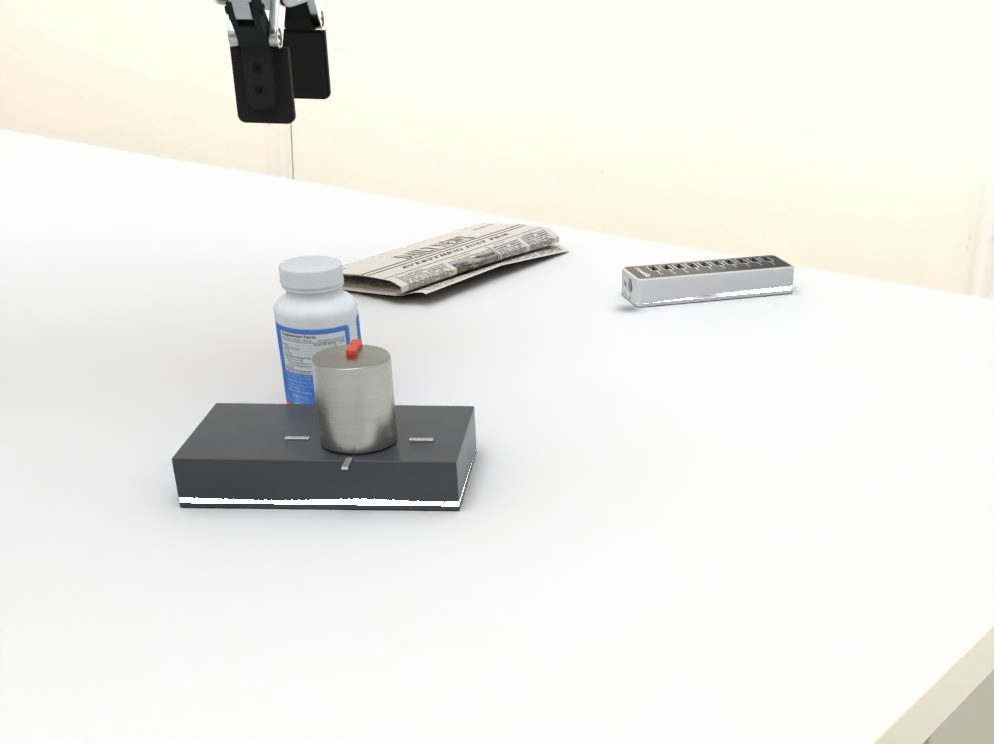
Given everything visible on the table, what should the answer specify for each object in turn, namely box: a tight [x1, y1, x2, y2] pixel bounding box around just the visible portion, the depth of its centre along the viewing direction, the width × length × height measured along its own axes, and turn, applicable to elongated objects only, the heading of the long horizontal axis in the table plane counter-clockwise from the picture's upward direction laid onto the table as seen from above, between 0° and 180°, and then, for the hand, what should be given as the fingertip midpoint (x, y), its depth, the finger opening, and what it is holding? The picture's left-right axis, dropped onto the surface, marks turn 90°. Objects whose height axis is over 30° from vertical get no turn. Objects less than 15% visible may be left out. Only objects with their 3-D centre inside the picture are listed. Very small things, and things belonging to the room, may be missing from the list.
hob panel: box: [171, 402, 478, 511], centre depth 79 cm, size 16×10×3 cm, turn 90°
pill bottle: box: [273, 254, 362, 404], centre depth 88 cm, size 6×5×10 cm
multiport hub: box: [621, 254, 795, 308], centre depth 115 cm, size 4×14×2 cm, turn 110°
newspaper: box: [341, 222, 570, 297], centre depth 121 cm, size 23×12×2 cm, turn 146°
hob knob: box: [311, 338, 398, 454], centre depth 76 cm, size 4×4×5 cm
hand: (287, 109), depth 81 cm, fingers open, 9 cm apart
